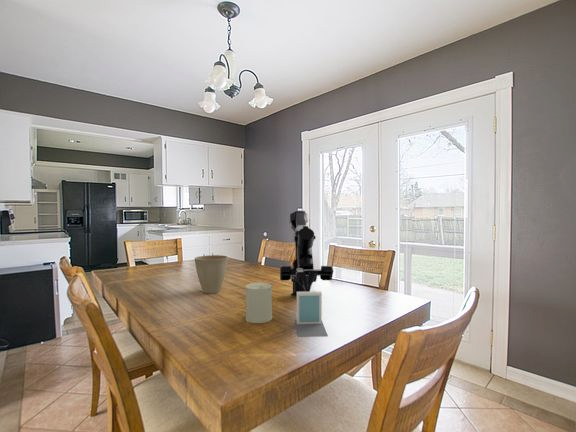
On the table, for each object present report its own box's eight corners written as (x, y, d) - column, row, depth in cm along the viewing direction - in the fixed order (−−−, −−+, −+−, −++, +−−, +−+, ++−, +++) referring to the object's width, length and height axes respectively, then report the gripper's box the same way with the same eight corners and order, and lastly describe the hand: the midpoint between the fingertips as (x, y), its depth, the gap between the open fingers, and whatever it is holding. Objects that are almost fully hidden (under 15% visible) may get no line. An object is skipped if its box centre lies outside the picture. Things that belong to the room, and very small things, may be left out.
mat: (294, 321, 98) (294, 320, 98) (321, 320, 98) (321, 319, 98) (297, 338, 85) (297, 336, 85) (328, 337, 85) (328, 336, 85)
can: (251, 326, 94) (250, 289, 93) (241, 317, 102) (241, 282, 102) (276, 321, 98) (276, 285, 98) (266, 312, 106) (266, 280, 106)
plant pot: (234, 290, 136) (234, 256, 136) (210, 298, 124) (210, 260, 124) (212, 285, 144) (212, 253, 144) (187, 293, 132) (187, 258, 132)
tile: (296, 321, 96) (296, 291, 96) (320, 321, 96) (320, 291, 96) (297, 324, 94) (297, 293, 94) (321, 324, 94) (321, 293, 94)
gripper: (326, 269, 115) (331, 305, 104) (279, 269, 115) (280, 305, 104) (330, 251, 108) (336, 289, 97) (280, 251, 107) (280, 289, 96)
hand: (307, 294), depth 98 cm, fingers closed
